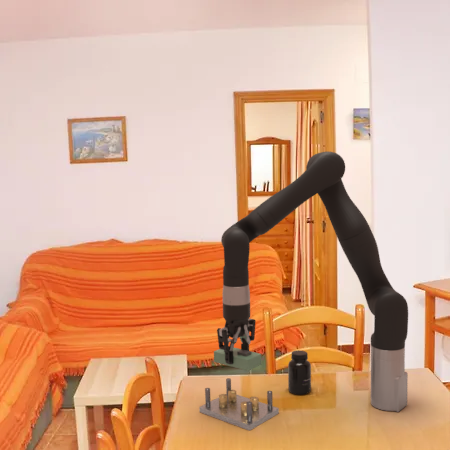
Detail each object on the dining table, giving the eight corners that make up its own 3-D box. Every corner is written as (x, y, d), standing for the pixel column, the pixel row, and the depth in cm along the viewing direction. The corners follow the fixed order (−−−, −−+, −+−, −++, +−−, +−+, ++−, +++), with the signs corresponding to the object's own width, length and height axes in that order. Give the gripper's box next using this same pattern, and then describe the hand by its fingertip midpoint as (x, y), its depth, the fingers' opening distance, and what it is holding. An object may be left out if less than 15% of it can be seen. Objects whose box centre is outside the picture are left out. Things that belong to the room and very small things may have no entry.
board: (261, 364, 151) (261, 350, 151) (248, 371, 147) (247, 356, 146) (227, 355, 159) (227, 342, 158) (214, 361, 154) (213, 347, 154)
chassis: (278, 413, 153) (278, 390, 152) (249, 430, 143) (248, 406, 143) (229, 396, 165) (229, 375, 164) (199, 412, 155) (198, 389, 154)
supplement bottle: (310, 396, 164) (310, 357, 163) (287, 394, 165) (286, 356, 164) (311, 387, 171) (311, 349, 169) (289, 386, 172) (288, 348, 171)
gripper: (229, 308, 143) (230, 370, 145) (263, 297, 154) (264, 356, 155) (208, 304, 148) (209, 364, 150) (242, 294, 159) (243, 350, 160)
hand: (237, 360), depth 153 cm, fingers closed on board, 6 cm apart
